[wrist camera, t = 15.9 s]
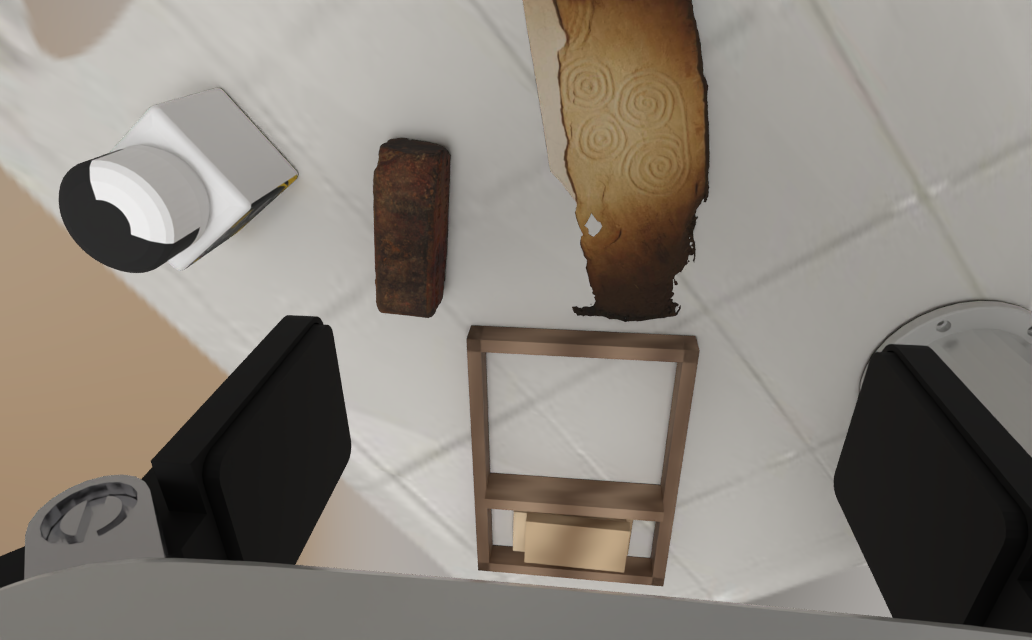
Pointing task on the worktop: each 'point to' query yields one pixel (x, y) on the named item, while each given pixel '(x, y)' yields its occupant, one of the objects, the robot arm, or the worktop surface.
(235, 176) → the medicine bottle
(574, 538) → the offcut stack
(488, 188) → the worktop surface
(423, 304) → the brick
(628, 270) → the parchment
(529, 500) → the rack
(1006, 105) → the worktop surface
